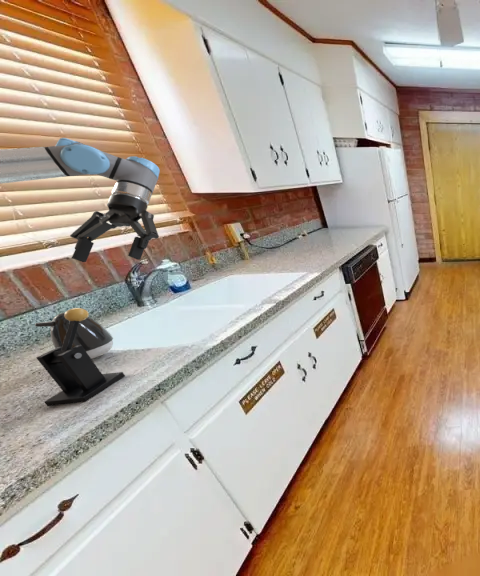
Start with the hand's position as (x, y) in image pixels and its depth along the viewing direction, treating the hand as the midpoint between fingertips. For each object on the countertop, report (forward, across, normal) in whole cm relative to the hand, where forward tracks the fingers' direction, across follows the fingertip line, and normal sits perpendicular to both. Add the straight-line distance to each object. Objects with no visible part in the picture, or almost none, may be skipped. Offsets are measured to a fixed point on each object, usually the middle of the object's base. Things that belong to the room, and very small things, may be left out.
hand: (106, 259), depth 87 cm
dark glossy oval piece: (+25, +12, -17) cm, 33 cm away
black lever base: (+38, -3, -4) cm, 38 cm away
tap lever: (+24, -3, +2) cm, 24 cm away
